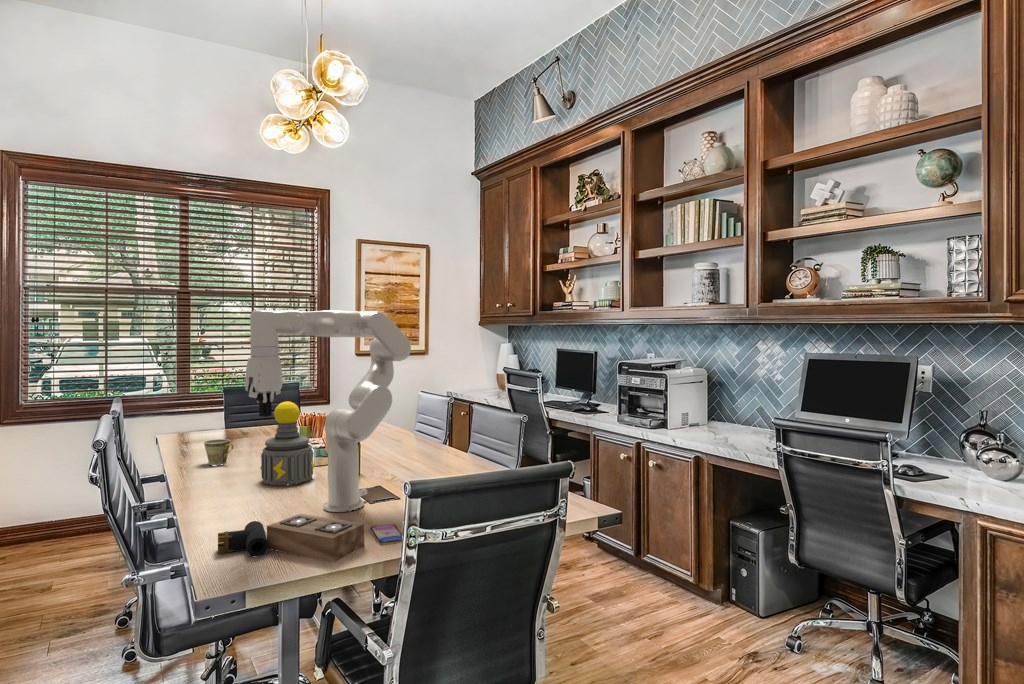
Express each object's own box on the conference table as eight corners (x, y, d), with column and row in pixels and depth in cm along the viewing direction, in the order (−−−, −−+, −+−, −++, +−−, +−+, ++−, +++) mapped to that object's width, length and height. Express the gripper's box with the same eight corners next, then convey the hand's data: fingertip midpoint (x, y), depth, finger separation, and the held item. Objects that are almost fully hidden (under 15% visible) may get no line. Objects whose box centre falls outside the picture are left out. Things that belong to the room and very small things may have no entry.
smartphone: (394, 526, 179) (394, 522, 179) (407, 543, 165) (407, 539, 165) (368, 529, 176) (368, 526, 176) (379, 547, 162) (379, 543, 162)
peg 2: (333, 546, 161) (332, 523, 161) (345, 549, 159) (345, 525, 159) (322, 551, 157) (322, 527, 157) (334, 554, 155) (334, 529, 155)
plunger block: (300, 534, 171) (300, 512, 170) (364, 546, 161) (364, 522, 161) (267, 548, 160) (266, 524, 160) (333, 562, 150) (332, 536, 150)
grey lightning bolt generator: (306, 486, 224) (305, 404, 223) (253, 487, 223) (252, 404, 222) (319, 473, 243) (318, 398, 242) (270, 474, 241) (269, 398, 241)
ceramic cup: (198, 466, 256) (198, 442, 256) (216, 461, 266) (216, 438, 266) (224, 468, 253) (224, 444, 252) (241, 463, 262) (241, 440, 262)
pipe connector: (218, 541, 151) (217, 524, 164) (218, 563, 151) (217, 544, 164) (268, 535, 156) (263, 519, 169) (268, 556, 156) (263, 538, 169)
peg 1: (298, 540, 166) (298, 517, 166) (309, 542, 164) (309, 519, 164) (287, 545, 162) (286, 521, 162) (298, 547, 160) (298, 523, 160)
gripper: (275, 351, 186) (275, 412, 186) (233, 353, 172) (234, 418, 173) (293, 352, 183) (294, 413, 183) (253, 354, 169) (254, 420, 170)
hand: (265, 415), depth 178 cm, fingers closed
